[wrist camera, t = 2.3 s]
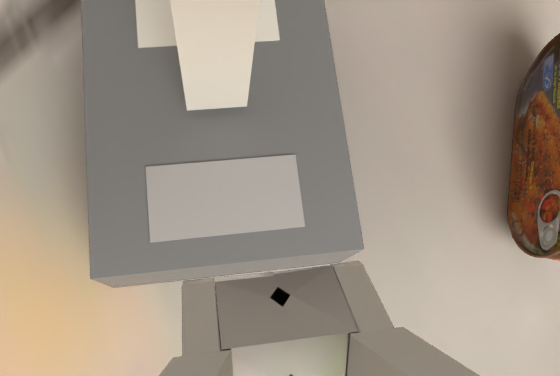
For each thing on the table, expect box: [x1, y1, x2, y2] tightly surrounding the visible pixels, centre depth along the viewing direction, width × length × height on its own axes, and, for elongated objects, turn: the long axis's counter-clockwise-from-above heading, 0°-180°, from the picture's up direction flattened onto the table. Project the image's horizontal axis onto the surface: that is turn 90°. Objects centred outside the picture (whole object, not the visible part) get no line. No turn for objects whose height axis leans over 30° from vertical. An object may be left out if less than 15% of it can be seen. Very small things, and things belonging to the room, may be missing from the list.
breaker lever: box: [170, 0, 260, 111], centre depth 22 cm, size 2×4×13 cm, turn 97°
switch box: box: [81, 0, 364, 288], centre depth 32 cm, size 18×14×6 cm
